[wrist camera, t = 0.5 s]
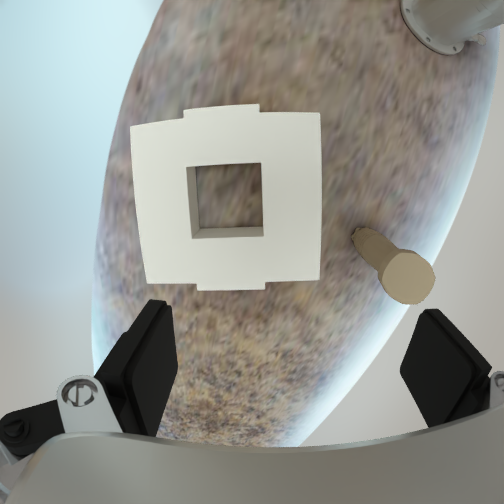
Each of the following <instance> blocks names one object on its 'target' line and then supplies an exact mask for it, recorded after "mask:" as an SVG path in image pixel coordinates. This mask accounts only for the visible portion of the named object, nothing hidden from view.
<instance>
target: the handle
mask: <svg viewBox="0 0 504 504" xmlns="http://www.w3.org/2000/svg"><path fill="white" fill-rule="evenodd" d="M351 239H352V240H353V241H354V246H355V248H356V249H357V251H358V253H359V254H360V255H361V256H362V258H363V259H364V260H365V261H366V262H367V263H368V264H370V265H371V266H372V267H373V268H374V269H376V270H377V271H378V279H379V281H380V283H381V284H382V286H383V288H384V290H385V291H386V293H387V294H388V295H389V296H390V297H392V298H393V299H394V300H396V301H398V302H400V303H402V304H418V303H420V302H421V301H423V300H424V299H425V298H426V297H427V296H428V294H429V293H430V291H431V289H432V288H433V285H434V282H435V275H434V272H433V270H432V267H431V265H430V264H429V263H428V262H427V261H426V260H425V259H424V258H422V257H421V256H420V255H418V254H417V253H416V252H414V251H411V250H405V249H398V248H397V247H396V246H395V245H394V244H393V243H392V242H391V241H389V240H388V239H387V238H386V237H385V236H383V235H382V234H380V233H378V232H376V231H375V230H372V229H370V228H368V227H365V228H359V227H358V228H356V229H355V233H354V234H353V235H352V236H351Z"/></svg>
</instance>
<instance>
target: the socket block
mask: <svg viewBox="0 0 504 504" xmlns="http://www.w3.org/2000/svg"><path fill="white" fill-rule="evenodd" d="M130 134H131V155H132V170H133V183H134V193H135V203H136V212H137V220H138V228H139V236H140V243H141V249H142V256H143V262H144V268H145V274H146V279H147V283H197V290H256V289H265V282H279V281H306V280H319V274H320V252H321V215H322V162H321V127H320V113H309V112H260V113H259V104H248V105H230V106H217V107H206V108H196V109H187V110H184V118H181V119H174V120H166V121H160V122H153V123H147V124H141V125H136V126H130ZM238 163H261V176H262V207H263V226H262V227H232V228H206V229H200V225H199V212H198V199H197V185H196V168H195V166H205V165H220V164H238Z"/></svg>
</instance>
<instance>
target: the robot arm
mask: <svg viewBox="0 0 504 504" xmlns="http://www.w3.org/2000/svg"><path fill="white" fill-rule="evenodd" d="M400 8H401V13H402V15H403V18H404V20H405V22H406V24H407V26H408V27H409V28H410V30H411V31H412V32H413V34H414V35H415V36H416V37H417V38H418V39H419V40H420V41H421V42H422V43H423V44H425V45H426V46H427V47H429V48H430V49H432V50H434V51H436V52H438V53H440V54H444V55H453V54H456V53H458V52H460V51H461V50H462V49H463V47H464V44H465V41H467V40H469V41H472V40H473V41H475V42H476V43H478V44H480V45H483V46H484V45H485V44H486V39H485V37H484V36H482V35H480V34H478V33H481V32H483V31H486V30H488V29H491V28H493V27H496V26H498V25H501V24H504V0H401V6H400ZM491 369H492V366H491V365H490V364H489V363H488V362H487V361H486V359H485V358H484V357H483V356H482V355H481V354H480V353H479V351H478V350H477V349H476V348H475V347H474V346H473V345H472V344H471V343H470V341H469V340H468V339H467V338H466V337H465V336H464V335H463V334H462V333H461V332H460V331H459V330H458V329H457V328H456V327H455V325H454V324H453V323H452V322H451V321H450V320H449V319H448V318H447V317H446V316H445V315H444V314H443V313H442V312H441V311H440V310H439V309H425V310H424V311H423V313H421V314H420V315H419V318H418V321H417V324H416V327H415V330H414V333H413V335H412V338H411V341H410V344H409V346H408V349H407V351H406V354H405V356H404V359H403V361H402V364H401V367H400V374H401V376H402V378H403V380H404V381H405V383H406V385H407V387H408V389H409V391H410V393H411V394H412V396H413V398H414V400H415V402H416V404H417V406H418V408H419V410H420V412H421V414H422V416H423V418H424V419H425V422H426V424H427V425H428V427H429V428H427V429H423V430H419V431H415V432H410V433H406V434H401V435H396V436H391V437H386V438H380V439H374V440H368V441H361V442H354V443H345V444H335V445H324V446H308V447H241V446H226V445H213V444H202V443H193V442H185V441H178V440H171V439H165V438H157V437H156V434H157V431H158V428H159V425H160V422H161V419H162V416H163V413H164V410H165V407H166V404H167V401H168V398H169V395H170V392H171V389H172V386H173V383H174V380H175V377H176V374H177V370H178V362H177V354H176V345H175V336H174V327H173V316H172V307H171V306H170V305H167V303H166V301H162V300H152V299H150V300H149V301H148V302H147V304H146V305H145V307H144V308H143V309H142V311H141V312H140V314H139V315H138V317H137V318H136V320H135V321H134V322H133V324H132V325H131V327H130V328H129V330H128V331H127V332H124V333H123V334H122V335H121V337H120V338H119V340H118V341H117V342H116V344H115V345H114V347H113V348H112V350H111V351H110V353H109V354H108V356H107V357H106V359H105V360H104V362H103V363H102V365H101V366H100V368H99V370H98V371H97V373H96V374H95V376H94V377H90V376H85V375H79V376H73V377H71V378H68V379H67V380H65V381H64V382H63V383H62V384H61V385H60V386H59V388H58V390H57V399H56V400H53V401H49V402H46V403H43V404H39V405H36V406H32V407H29V408H25V409H21V410H17V411H13V412H11V413H8V414H6V415H5V416H4V417H3V418H2V419H1V420H0V504H504V372H503V371H497V372H495V373H493V374H492V376H491V377H490V378H489V377H488V374H489V372H490V370H491Z"/></svg>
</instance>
